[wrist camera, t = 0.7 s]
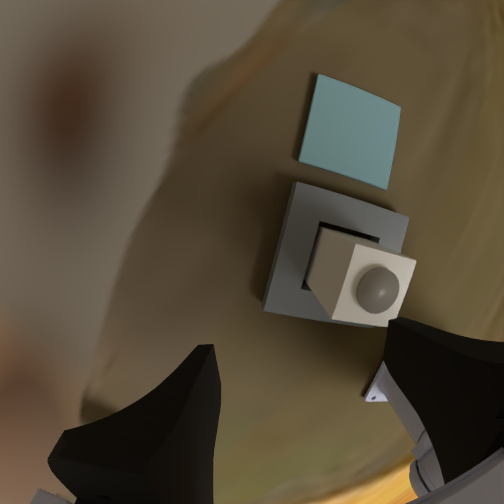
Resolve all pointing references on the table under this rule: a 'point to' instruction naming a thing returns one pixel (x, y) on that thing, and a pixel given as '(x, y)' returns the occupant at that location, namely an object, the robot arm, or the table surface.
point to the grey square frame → (302, 239)
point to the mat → (350, 132)
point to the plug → (357, 277)
